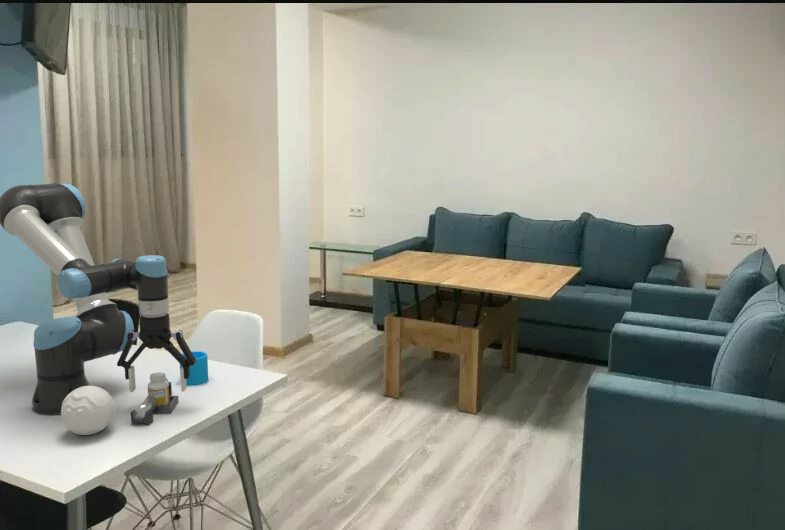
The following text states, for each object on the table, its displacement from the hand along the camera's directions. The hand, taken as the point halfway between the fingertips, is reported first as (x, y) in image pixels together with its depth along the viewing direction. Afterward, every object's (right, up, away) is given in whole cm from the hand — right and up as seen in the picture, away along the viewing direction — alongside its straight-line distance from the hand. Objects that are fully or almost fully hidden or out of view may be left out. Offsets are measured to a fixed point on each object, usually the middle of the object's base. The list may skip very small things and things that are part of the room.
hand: (158, 390), depth 183 cm
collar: (0, -5, +1) cm, 5 cm away
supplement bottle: (0, -5, +1) cm, 5 cm away
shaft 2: (-2, -4, +9) cm, 10 cm away
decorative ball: (-12, -8, -14) cm, 21 cm away
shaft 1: (-1, -7, -7) cm, 10 cm away
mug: (+3, -1, +24) cm, 24 cm away
